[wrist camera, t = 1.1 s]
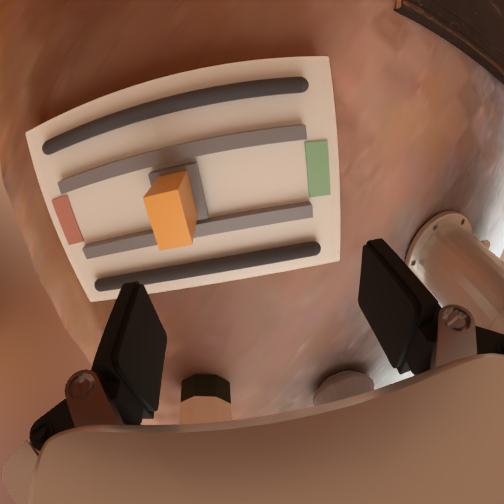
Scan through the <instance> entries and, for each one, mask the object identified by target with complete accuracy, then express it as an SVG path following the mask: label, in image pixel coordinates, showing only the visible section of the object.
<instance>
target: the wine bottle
mask: <svg viewBox="0 0 504 504" xmlns="http://www.w3.org/2000/svg"><path fill="white" fill-rule="evenodd" d="M223 421H232V413H231V398H230V383H229V382H228V381H226V380H224V379H222V378H220V377H219V376H217V375H206V374H195V375H193V376H191V377H189V378H187V379H185V380H183V381H182V389H181V406H180V424H199V423H212V422H223Z"/></svg>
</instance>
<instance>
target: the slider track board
mask: <svg viewBox="0 0 504 504" xmlns="http://www.w3.org/2000/svg"><path fill="white" fill-rule="evenodd" d="M298 76H300V77H304V78H305V79H306V80H307V81H308V83H309V87H308V89H307V90H306V91H305V92H303V93H292V94H281V95H271V96H262V97H254V98H247V99H240V100H233V101H227V102H221V103H216V104H210V105H205V106H200V107H196V108H191V109H186V110H182V111H178V112H174V113H169V114H166V115H162V116H158V117H154V118H150V119H147V120H143V121H140V122H137V123H133V124H130V125H127V126H124V127H121V128H117V129H114V130H111V131H109V132H106V133H103V134H100V135H97V136H95V137H92V138H89V139H87V140H84V141H81V142H79V143H76V144H74V145H71V146H69V147H67V148H64V149H62V150H60V151H57V152H55V153H53V154H50V155H46V154H44V153H43V151H42V146H43V144H44V142H45V141H47V140H49V139H51V138H53V137H55V136H57V135H59V134H62V133H64V132H66V131H68V130H71V129H73V128H75V127H78V126H80V125H83V124H85V123H88V122H90V121H93V120H95V119H98V118H101V117H103V116H106V115H109V114H112V113H115V112H118V111H121V110H124V109H127V108H130V107H133V106H136V105H139V104H143V103H146V102H150V101H153V100H157V99H161V98H164V97H168V96H172V95H176V94H181V93H185V92H189V91H194V90H199V89H204V88H209V87H214V86H220V85H226V84H232V83H239V82H246V81H253V80H262V79H272V78H283V77H298ZM26 138H27V142H28V146H29V150H30V154H31V158H32V161H33V165H34V168H35V172H36V175H37V178H38V181H39V185H40V188H41V191H42V194H43V197H44V199H45V202H46V205H47V208H48V211H49V213H50V216H51V218H52V221H53V224H54V226H55V229H56V231H57V233H58V236H59V238H60V241H61V243H62V245H63V247H64V250H65V252H66V254H67V256H68V259H69V261H70V263H71V265H72V267H73V269H74V271H75V273H76V275H77V277H78V279H79V281H80V283H81V285H82V287H83V289H84V291H85V293H86V295H87V296H88V298H89V300H90V302H95V301H102V300H109V299H117V297H118V295H119V292H120V290H121V289H116V290H109V291H103V292H99V291H97V290H96V289H95V286H94V283H95V281H96V280H97V279H99V278H105V277H111V276H116V275H122V274H128V273H133V272H139V271H145V270H151V269H156V268H162V267H168V266H173V265H179V264H185V263H191V262H196V261H202V260H208V259H214V258H219V257H225V256H231V255H236V254H242V253H248V252H254V251H259V250H265V249H271V248H277V247H282V246H288V245H294V244H299V243H305V242H311V241H316V242H318V243H319V244H320V246H321V251H320V253H319V254H318V255H316V256H311V257H305V258H300V259H294V260H289V261H283V262H278V263H272V264H266V265H261V266H255V267H249V268H243V269H238V270H232V271H226V272H220V273H214V274H208V275H202V276H196V277H190V278H184V279H178V280H172V281H166V282H160V283H154V284H147V285H144V286H145V288H146V291H147V293H148V294H151V293H157V292H164V291H170V290H177V289H183V288H189V287H196V286H202V285H208V284H214V283H220V282H226V281H232V280H238V279H244V278H249V277H255V276H261V275H266V274H272V273H278V272H283V271H289V270H294V269H299V268H305V267H310V266H315V265H321V264H326V263H331V262H336V261H340V180H339V158H338V141H337V128H336V116H335V105H334V96H333V87H332V79H331V71H330V64H329V57H328V56H306V57H284V58H270V59H260V60H250V61H242V62H235V63H228V64H222V65H216V66H211V67H205V68H200V69H195V70H191V71H186V72H182V73H177V74H173V75H169V76H165V77H162V78H158V79H154V80H151V81H147V82H144V83H141V84H138V85H134V86H131V87H128V88H125V89H122V90H119V91H116V92H114V93H111V94H108V95H105V96H103V97H100V98H98V99H95V100H93V101H90V102H88V103H85V104H83V105H81V106H78V107H76V108H74V109H71V110H69V111H67V112H65V113H63V114H61V115H59V116H57V117H54V118H52V119H50V120H48V121H47V122H45V123H43V124H41V125H39V126H37V127H35V128H33V129H31V130H30V131H28V132H26ZM194 161H197V163H198V168H199V173H200V177H201V182H202V187H203V191H204V196H205V200H206V205H207V209H208V219H202V220H197V222H196V228H195V233H194V239H193V245H189V246H183V247H178V248H172V249H167V250H162V251H160V250H159V248H158V245H157V242H156V239H155V235H154V232H153V229H152V226H151V223H150V220H149V217H148V213H147V210H146V207H145V203H144V200H143V197H144V195H145V194H146V193H147V191H148V190H149V189H150V187H151V184H150V180H149V176H148V174H149V173H150V172H151V171H155V170H159V169H163V168H167V167H171V166H176V165H180V164H185V163H189V162H194Z"/></svg>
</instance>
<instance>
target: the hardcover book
mask: <svg viewBox="0 0 504 504" xmlns="http://www.w3.org/2000/svg"><path fill="white" fill-rule="evenodd" d="M394 11H396V12H398V13H400V14H402V15H404V16H406V17H408V18H410V19H412V20H414V21H415V22H417V23H419V24H421V25H423V26H424V27H426V28H428V29H429V30H431V31H433V32H434V33H436V34H438V35H439V36H441V37H442V38H444V39H446V40H447V41H449V42H450V43H452V44H453V45H455V46H456V47H457V48H459V49H460V50H462V51H463V52H465V53H466V54H467V55H469V56H470V57H471V58H473V59H474V60H475V61H477V62H478V63H479V64H480V65H482V66H483V67H484V68H485V69H487V70H488V71H489V72H490V73H491V74H493V75H494V76H495V77H496V78H497V79H498V80H499V81H501V82H502V83H503V84H504V0H396V9H394Z"/></svg>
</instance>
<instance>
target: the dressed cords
mask: <svg viewBox="0 0 504 504" xmlns="http://www.w3.org/2000/svg"><path fill="white" fill-rule="evenodd" d="M308 87H309V83H308V81H307V80H306V79H305V78H304V77H300V76H298V77H283V78H272V79H262V80H253V81H246V82H239V83H232V84H226V85H220V86H214V87H209V88H204V89H199V90H194V91H189V92H185V93H181V94H176V95H172V96H168V97H164V98H161V99H157V100H153V101H150V102H146V103H143V104H139V105H136V106H133V107H130V108H127V109H124V110H121V111H118V112H115V113H112V114H109V115H106V116H103V117H101V118H98V119H95V120H93V121H90V122H88V123H85V124H83V125H80V126H78V127H75V128H73V129H71V130H68V131H66V132H64V133H62V134H59V135H57V136H55V137H53V138H51V139H49V140H47V141H45V142H44V144H43V146H42V151H43V153H44V154H46V155H50V154H53V153H55V152H57V151H60V150H62V149H64V148H67V147H69V146H71V145H74V144H76V143H79V142H81V141H84V140H87V139H89V138H92V137H95V136H97V135H100V134H103V133H106V132H109V131H111V130H114V129H117V128H121V127H124V126H127V125H130V124H133V123H137V122H140V121H143V120H147V119H150V118H154V117H158V116H162V115H166V114H169V113H174V112H178V111H182V110H186V109H191V108H196V107H200V106H205V105H210V104H216V103H221V102H227V101H233V100H240V99H247V98H254V97H262V96H271V95H281V94H292V93H303V92H305V91H306V90H307V89H308ZM320 251H321V246H320V244H319V243H318V242H316V241H311V242H305V243H299V244H294V245H288V246H282V247H277V248H271V249H265V250H259V251H254V252H248V253H242V254H236V255H231V256H225V257H219V258H214V259H208V260H202V261H196V262H191V263H185V264H179V265H173V266H168V267H162V268H156V269H151V270H145V271H139V272H133V273H128V274H122V275H116V276H111V277H105V278H99V279H97V280H96V281H95V283H94V286H95V289H96V290H97V291H99V292H103V291H109V290H116V289H121V287H122V285H123V284H124V283H128V282H134V281H138V282H139V283H140V284H143V285H147V284H154V283H160V282H166V281H172V280H178V279H184V278H190V277H196V276H202V275H208V274H214V273H220V272H226V271H232V270H238V269H243V268H249V267H255V266H261V265H266V264H272V263H278V262H283V261H289V260H294V259H300V258H305V257H311V256H316V255H318V254H319V253H320Z"/></svg>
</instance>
